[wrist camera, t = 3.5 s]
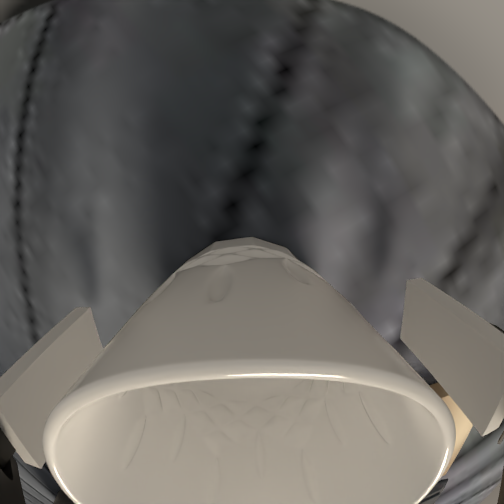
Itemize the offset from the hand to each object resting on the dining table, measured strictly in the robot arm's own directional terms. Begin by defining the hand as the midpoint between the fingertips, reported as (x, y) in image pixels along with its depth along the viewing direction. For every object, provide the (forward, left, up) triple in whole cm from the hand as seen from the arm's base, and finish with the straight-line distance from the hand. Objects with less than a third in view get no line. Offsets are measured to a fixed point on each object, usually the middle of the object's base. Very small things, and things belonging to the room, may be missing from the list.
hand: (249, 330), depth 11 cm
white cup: (0, 0, -2) cm, 2 cm away
